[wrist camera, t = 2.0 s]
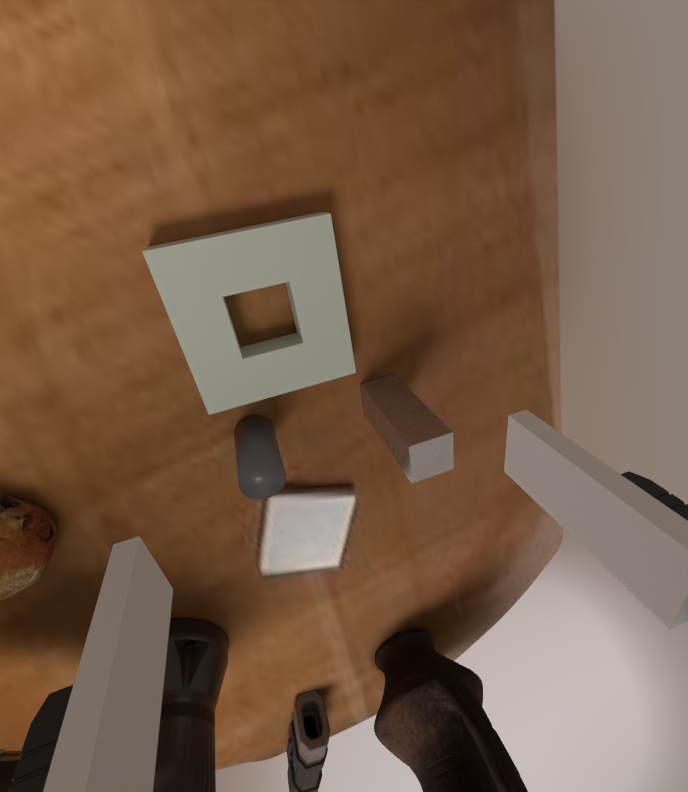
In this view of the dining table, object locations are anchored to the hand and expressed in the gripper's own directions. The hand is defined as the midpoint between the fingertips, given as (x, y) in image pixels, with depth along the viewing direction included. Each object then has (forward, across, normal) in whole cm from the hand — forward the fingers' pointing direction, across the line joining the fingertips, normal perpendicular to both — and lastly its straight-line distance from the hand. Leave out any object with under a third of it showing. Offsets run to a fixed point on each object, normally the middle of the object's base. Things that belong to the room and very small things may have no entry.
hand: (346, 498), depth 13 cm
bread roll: (+25, -30, -15) cm, 41 cm away
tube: (+25, -14, -80) cm, 85 cm away
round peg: (+25, -4, -12) cm, 28 cm away
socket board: (+25, 0, 0) cm, 25 cm away
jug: (+25, +9, -64) cm, 69 cm away
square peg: (+25, +10, -12) cm, 29 cm away
